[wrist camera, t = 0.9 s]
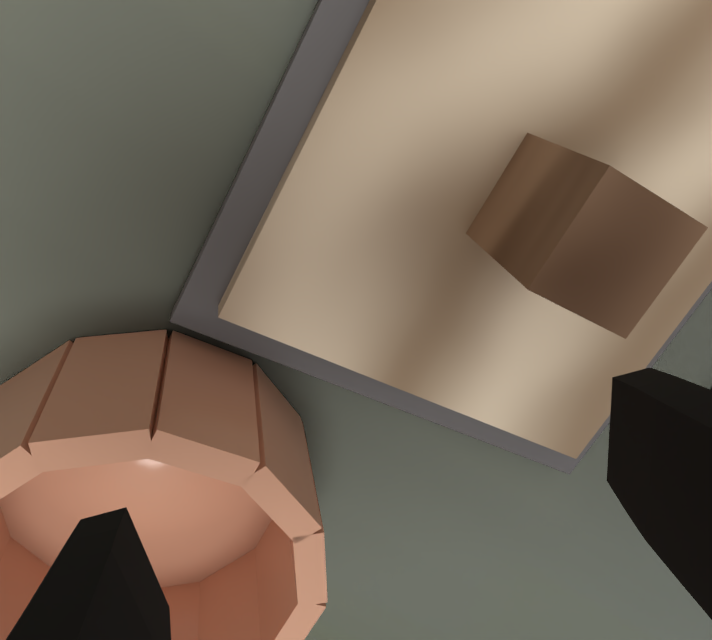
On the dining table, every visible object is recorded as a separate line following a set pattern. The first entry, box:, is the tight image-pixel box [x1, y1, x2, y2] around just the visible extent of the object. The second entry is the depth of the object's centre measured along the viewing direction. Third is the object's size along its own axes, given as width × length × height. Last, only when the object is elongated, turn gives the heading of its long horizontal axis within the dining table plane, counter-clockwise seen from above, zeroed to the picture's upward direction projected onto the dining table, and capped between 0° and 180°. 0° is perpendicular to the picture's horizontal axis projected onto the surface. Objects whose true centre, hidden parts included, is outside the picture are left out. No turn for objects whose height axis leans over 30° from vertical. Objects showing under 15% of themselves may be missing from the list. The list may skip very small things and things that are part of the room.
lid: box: [218, 0, 712, 459], centre depth 16 cm, size 13×13×5 cm
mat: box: [170, 0, 712, 474], centre depth 19 cm, size 15×15×1 cm
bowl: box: [0, 329, 327, 640], centre depth 18 cm, size 10×10×5 cm
